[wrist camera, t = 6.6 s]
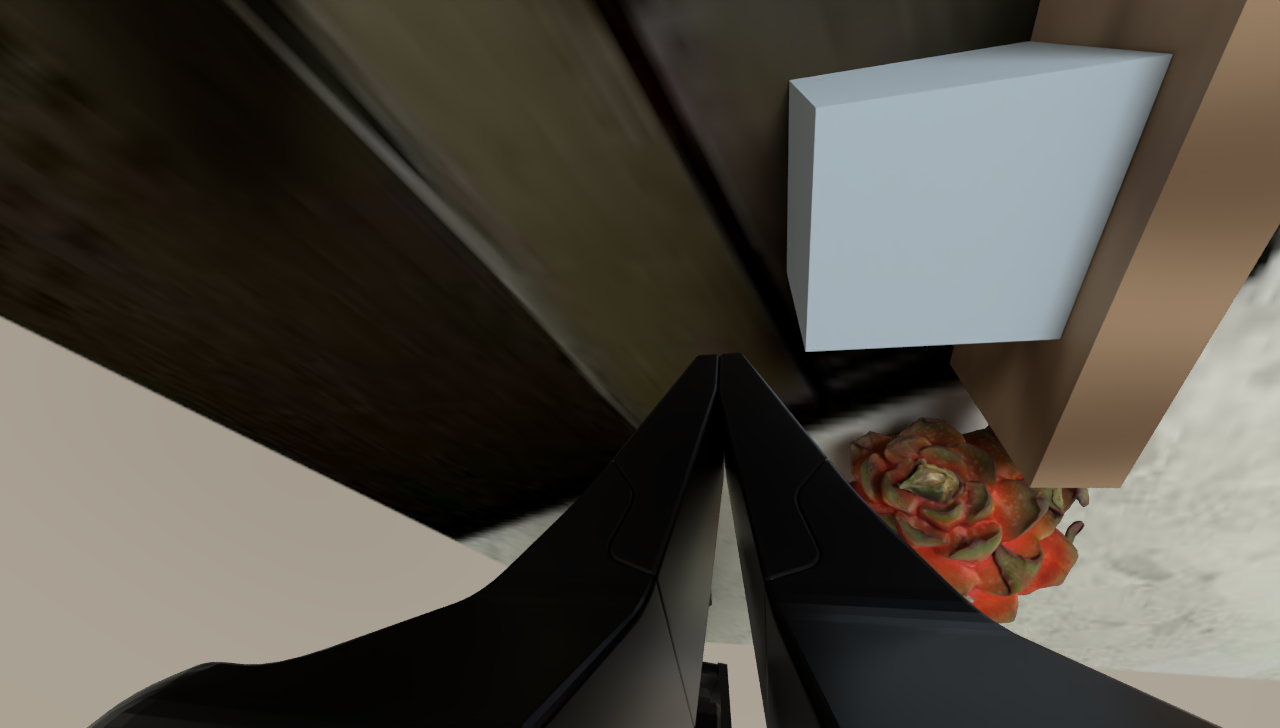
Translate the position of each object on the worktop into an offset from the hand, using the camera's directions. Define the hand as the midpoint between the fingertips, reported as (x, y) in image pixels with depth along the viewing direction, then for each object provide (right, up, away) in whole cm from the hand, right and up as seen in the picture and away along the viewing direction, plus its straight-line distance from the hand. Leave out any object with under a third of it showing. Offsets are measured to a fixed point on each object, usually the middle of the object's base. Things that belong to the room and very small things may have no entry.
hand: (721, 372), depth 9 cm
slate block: (+7, +7, +8) cm, 13 cm away
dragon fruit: (+14, -5, +16) cm, 21 cm away
